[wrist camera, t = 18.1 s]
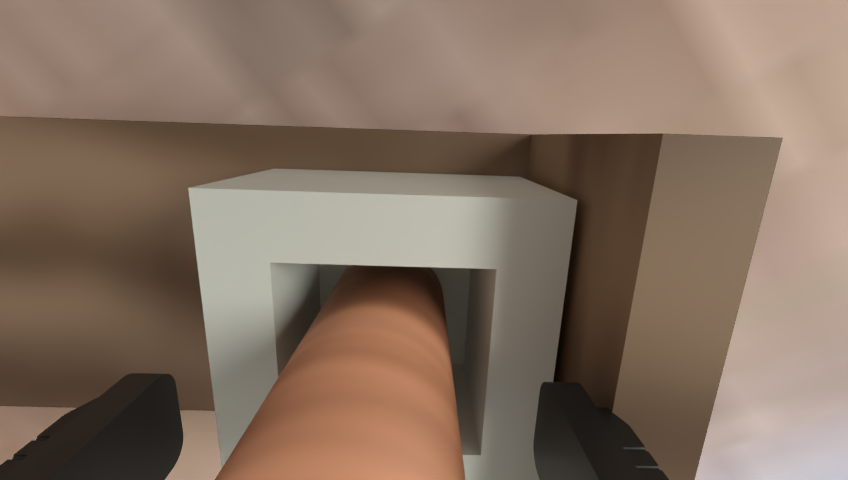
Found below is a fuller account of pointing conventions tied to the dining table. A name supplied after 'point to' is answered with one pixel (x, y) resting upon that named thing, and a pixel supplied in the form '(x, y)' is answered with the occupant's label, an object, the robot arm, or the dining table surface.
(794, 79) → the dining table surface
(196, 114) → the dining table surface
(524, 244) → the hole block
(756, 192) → the walnut angle bracket
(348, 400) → the dowel
